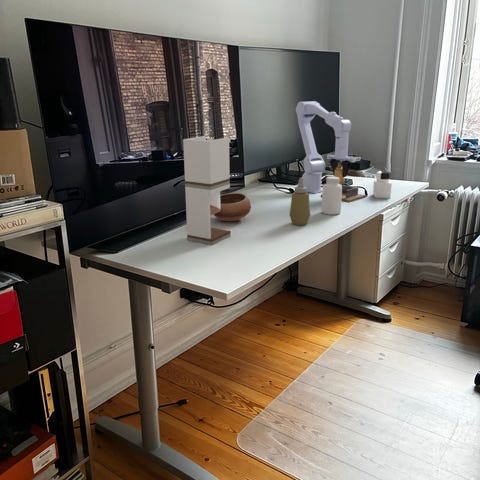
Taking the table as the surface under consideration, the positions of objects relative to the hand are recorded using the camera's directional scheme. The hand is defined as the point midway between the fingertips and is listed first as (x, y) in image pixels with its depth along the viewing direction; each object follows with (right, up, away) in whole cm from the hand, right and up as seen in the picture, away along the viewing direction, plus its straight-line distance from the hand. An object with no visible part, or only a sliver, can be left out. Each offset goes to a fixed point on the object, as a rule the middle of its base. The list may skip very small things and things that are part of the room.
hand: (339, 176), depth 228 cm
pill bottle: (-8, -19, -23) cm, 31 cm away
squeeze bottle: (-24, -24, -38) cm, 50 cm away
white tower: (-58, -30, -55) cm, 85 cm away
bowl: (-50, -22, -32) cm, 64 cm away
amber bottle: (0, -3, +1) cm, 4 cm away
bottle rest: (+3, -9, +5) cm, 11 cm away
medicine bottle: (+21, -9, +6) cm, 24 cm away
